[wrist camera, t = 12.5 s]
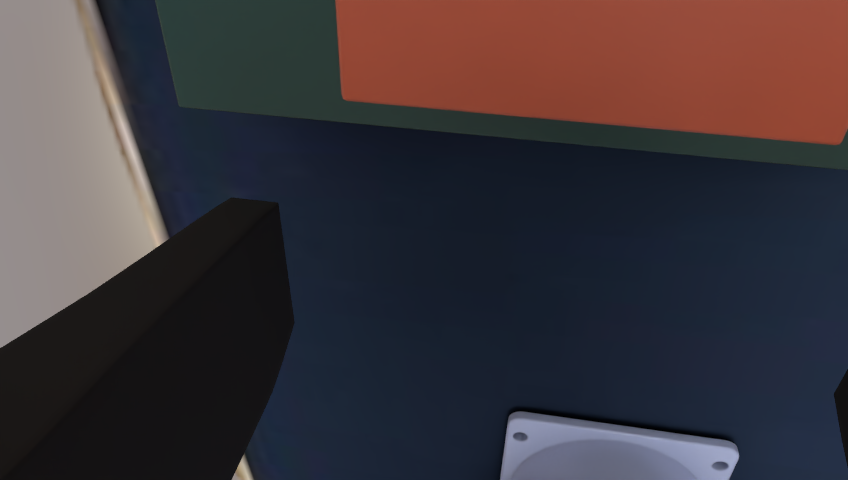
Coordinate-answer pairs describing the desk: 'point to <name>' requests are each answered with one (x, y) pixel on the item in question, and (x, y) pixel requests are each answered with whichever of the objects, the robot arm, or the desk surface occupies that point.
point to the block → (608, 62)
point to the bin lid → (321, 100)
